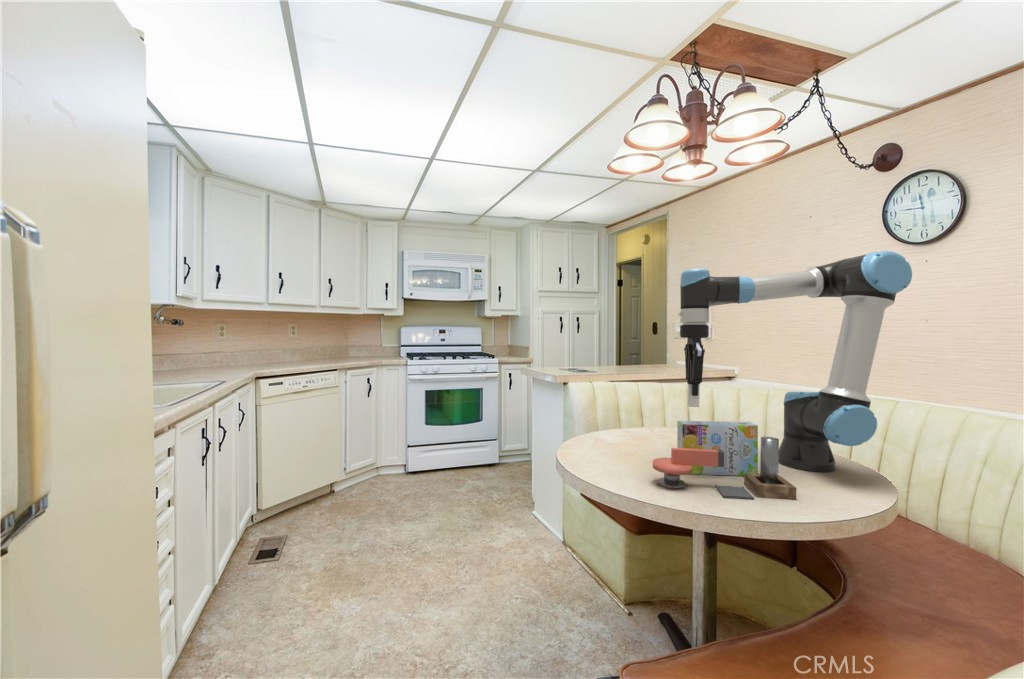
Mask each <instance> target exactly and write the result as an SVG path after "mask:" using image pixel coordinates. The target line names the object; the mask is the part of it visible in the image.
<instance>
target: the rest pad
mask: <svg viewBox="0 0 1024 679" xmlns="http://www.w3.org/2000/svg"><path fill="white" fill-rule="evenodd" d="M714 488H715V489H716V490H717V493H719V494H720V495H721V497H722V498H724V499H734V500H735V499H739V500H752V501H755V498H754V496H753V495H752V493H750V492H749V491H748V490H747V489H746V488H745V487H744V486H729V485H728V486H727V485H714Z"/></svg>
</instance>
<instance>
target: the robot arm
mask: <svg viewBox="0 0 1024 679" xmlns="http://www.w3.org/2000/svg"><path fill="white" fill-rule="evenodd" d="M912 278H913V271H912V266H911V264H910V262H908V261H907V260H906V257H904V256H903V255H901V254H900V253H898V252H895V251H891V250H883V251H873V252H872V251H871V252H869V253H867V254H863V255H857V256H853V257H850V258H849V257H848V258H844V259H841V260H838V261H834V262H830V263H827V264H823V265H818V266H811V267H808V268H806V270H804V271H796V272H789V273H788V272H786V273H777V274H769V275H768V274H767V275H761V276H751V277H749V276H740V275H739V276H711V274H710V270H709V269H707V268H692V269H691V268H690V269H686V270H684V271H682V272H681V274H680V284H679V288H680V289H679V290H680V291H679V292H680V308H679V309H680V312H678V313H677V314H678V316H680V322H679V323H681V324H680V326H679V337H680V338H683V339H687V341H686V343H685V346H684V349H683V350H684V359H685V360H684V361H685V362H684V363H685V364H684V366H685V380H686V381H687V382H686V383H687V406H688V408H700V386H701V384H702V383H703V373H704V372H703V371H704V357H705V352H706V349H705V348H704V344H703V343H702V339H706V338H709V336H710V334H709V332H710V326H709V325H708V323H710V307H715V306H722V305H731V304H748V303H750V302H757V301H765V300H766V301H767V300H776V299H785V298H795V297H805V296H807V297H808V298H809V299H810V298H811V299H816V298H840V300H841V301H842V302H843V303H844V304H845V307H844V308H845V309H844V314H843V317H842V321H841V326H840V329H839V334H838V338H837V343H836V345H835V346H836V347H835V351H834V354H833V359H832V364H831V369H830V373H829V377H828V382H827V386H825V387H824V388H821V389H820V390H818V391H788V392H786V393H785V394H784V399H783V407H784V408H783V438H782V440H781V443H780V444H779V458H778V464H779V463H780V464H781V465H783V466H786V467H790V468H794V469H797V470H798V469H799V470H802V471H809V472H818V473H819V472H821V473H822V472H823V473H824V472H833V471H835V470H836V460H835V457H834V454H833V452H832V448H831V445H830V442H831V443H833V444H837V445H842V446H846V447H855V446H857V447H858V446H860V445H862V444H864V443H866V442H868V441H870V440H871V439H872V438H873V436H874V435H875V433H876V431H877V428H878V420H877V417H876V416H875V413H874V412H873V411H872V410H871V409H870V407H871V402H872V400H871V399H870V398H869V396H868V395H867V393H866V392H867V389H868V384H869V380H870V376H871V372H872V367H873V362H874V360H875V359H874V358H875V354H876V350H877V346H878V340H879V337H880V332H881V328H882V324H883V321H884V320H883V319H884V315H885V311H886V309H887V308H889V307H891V306H892V305H894V304H895V300H896V296H897V294H898V293H900V292H902V291H904V290H905V289H906V288H908V287H909V285H910V284H911V282H912V280H913V279H912Z"/></svg>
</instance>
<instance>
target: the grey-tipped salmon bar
mask: <svg viewBox="0 0 1024 679" xmlns="http://www.w3.org/2000/svg"><path fill="white" fill-rule="evenodd" d="M670 450H671V451H670V452H671V454H670V455H671V456H670V457H657V458H654V459H653V460H652V468H653V470H655V471H657V472H660V473H662V474H664V473H666V474H673V475H680V476H682V475H685V476H686V475H690V474H689V473H691V472H692V465H694V466H712V467H724V451H722V450H710V449H689V448H677V447H671V449H670Z"/></svg>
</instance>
